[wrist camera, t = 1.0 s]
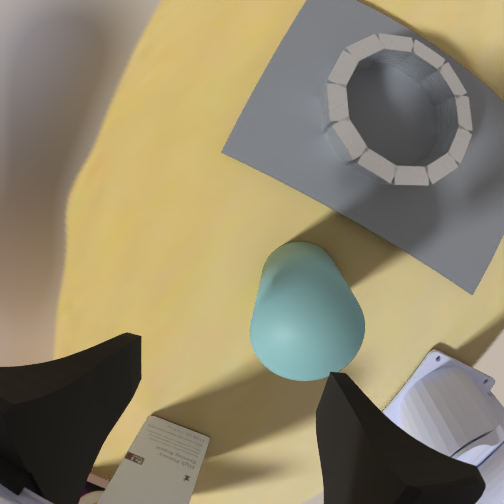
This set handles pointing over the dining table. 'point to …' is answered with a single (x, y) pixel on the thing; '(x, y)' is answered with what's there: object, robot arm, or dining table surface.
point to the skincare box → (158, 466)
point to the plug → (305, 314)
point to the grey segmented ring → (436, 90)
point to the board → (377, 142)
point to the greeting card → (93, 489)
